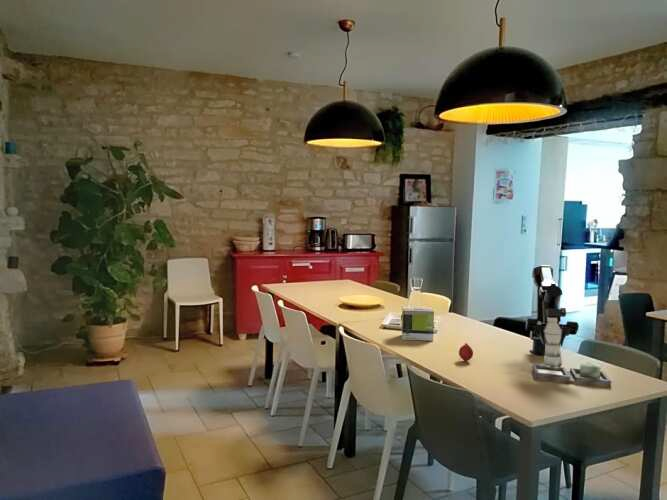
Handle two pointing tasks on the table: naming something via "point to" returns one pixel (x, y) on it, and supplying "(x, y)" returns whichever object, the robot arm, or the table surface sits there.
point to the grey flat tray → (573, 375)
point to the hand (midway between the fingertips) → (552, 345)
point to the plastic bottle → (552, 343)
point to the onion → (466, 352)
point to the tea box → (417, 323)
